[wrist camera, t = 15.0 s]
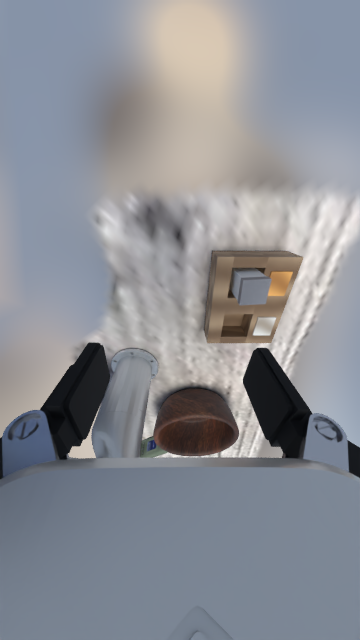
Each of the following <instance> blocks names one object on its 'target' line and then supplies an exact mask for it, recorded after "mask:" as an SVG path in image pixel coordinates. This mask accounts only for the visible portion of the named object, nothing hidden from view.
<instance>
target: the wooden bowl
mask: <svg viewBox="0 0 360 640" xmlns="http://www.w3.org/2000/svg"><path fill="white" fill-rule="evenodd" d="M153 436H154V441H155V443H156V444H157V445H158V446H159V447H160V448H161V449H163V450H164V451H167V452H169V453H172V454H176V455H181V456H204V455H210V454H214V453H218V452H221V451H223V450H225V449H227V448H229V447H230V446H232V445H233V444H234V443H235V442H236V440H237V439H238V436H239V430H238V427H237V424H236V422H235V419H234V417H233V414H232V412H231V410H230V408H229V407H228V405H227V404H226V403H225V401H224V400H223V399H222V398H221V397H220V396H219V395H217V394H216V393H214V392H212V391H209V390H206V389H199V388H192V389H185V390H181V391H178V392H176V393H174V394H172V395H171V396H170V397H168V398H167V399H166V401H165V402H164V403H163V405H162V407H161V409H160V411H159V413H158V416H157V420H156V424H155V428H154V434H153Z"/></svg>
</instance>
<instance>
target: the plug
mask: <svg viewBox="0 0 360 640" xmlns="http://www.w3.org/2000/svg"><path fill="white" fill-rule="evenodd" d="M271 280H272V279H271V278H270V277H268V276H265V275H264V274H263V273H261V272H260V271H259V270H257V269H256V268H232V273H231V279H230V285H229V289H230V290H231V292H232V293H233V295H234V296H235V298H236V299H237V301H238V304H239V305H257V304H266V300H267V296H268V292H269V288H270V284H271Z"/></svg>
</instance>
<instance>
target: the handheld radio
mask: <svg viewBox="0 0 360 640" xmlns="http://www.w3.org/2000/svg"><path fill="white" fill-rule="evenodd" d="M165 453H167V451H164V450H163V449H161V448H160V447H159V446H158V445H157V444H156V443H155V441H154V436H153V437H151V438H148V439H146V440H143V441H142V442H141V450H140V458H153V457H156V456H159V455H162V454H165Z"/></svg>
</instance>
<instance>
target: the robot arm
mask: <svg viewBox="0 0 360 640" xmlns="http://www.w3.org/2000/svg"><path fill="white" fill-rule="evenodd" d="M111 367H112V370H113V372H114V374H113V376H112V379H111V381H110V384H109V386H108V383H109V380H110V374H109V369H108V365H107V360H106V356H105V351H104V347H103V346H102V345H100V343H88V344H87V346H86V347H85V349H84V350H83V352H82V353H81V355H80V356H79V358H78V359H77V361H76V362H75V363H74V364H73V365H71V366H70V367H69V369H68V370H67V371H66V373H65V374H64V376H63V377H62V379H61V380H60V382H59V383H58V385H57V386H56V387H55V389H54V390H53V392H52V393H51V395H50V396H49V398H48V399H47V400H46V402H45V403H44V405H43V406H42V407H41V409H40V410H32V411H28V412H26V413H23V414H22V415H20V416H18V417H17V418H16V419H14V420H13V421H12V422H11V423H10V424H9V425H8V426H7V427H6V429H5V431H4V433H3V436H2V437H1V438H0V640H360V448H359V447H358V446H356V445H355V444H353V443H351V442H350V441H348V440H347V436H346V434H345V432H344V430H343V429H342V428H341V427H340V425H339V424H337V423H336V422H335V421H334V420H332V419H331V418H329V417H328V416H325V415H323V414H319V413H314V414H312V412H311V411H310V409H309V407H308V406H307V405H306V403H305V402H304V400H303V399H302V397H301V396H300V394H299V393H298V392H297V390H296V389H295V387H294V386H293V385H292V383H291V381H290V380H289V378H288V377H287V376H286V374H285V373H284V371H283V370H282V368H281V367H280V365H279V364H278V362H277V361H276V360H275V358H274V357H273V355H272V354H271V352H270V351H269V350H268V349H267V348H257V349H256V350H254V351H253V353H252V356H251V359H250V361H249V364H248V367H247V370H246V372H245V375H244V378H243V384H244V386H245V389H246V391H247V394H248V396H249V399H250V401H251V404H252V406H253V409H254V411H255V414H256V416H257V419H258V421H259V424H260V426H261V429H262V431H263V434H264V436H265V438H266V439H267V440H269V442H270V444H271V446H272V447H281V449H282V451H283V456H282V458H217V457H215V458H140V450H141V442H142V435H143V428H144V422H145V415H146V409H147V402H148V395H149V389H150V382H151V379H153V378H154V377H155V376H156V375H157V372H158V362H157V360H156V359H155V357H154V356H153V355H151V354H150V353H148V352H146V351H143V350H140V349H125V350H122V351H120V352H118V353H117V354H116V355H115V356H114V357H113V360H112V362H111ZM107 386H108V389H107V392H106V394H105V397H104V399H103V402H102V404H101V407H100V410H99V412H98V415H97V417H96V420H95V423H94V426H93V429H92V445H93V449H94V452H95V455H96V458H86V459H78V458H71V457H69V456H68V453H69V452H70V450H71V448H72V446H80V445H81V443H82V441H83V440H84V439H86V438H87V436H88V433H89V431H90V428H91V426H92V423H93V421H94V418H95V416H96V413H97V411H98V408H99V406H100V403H101V401H102V398H103V396H104V393H105V391H106V388H107Z"/></svg>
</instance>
